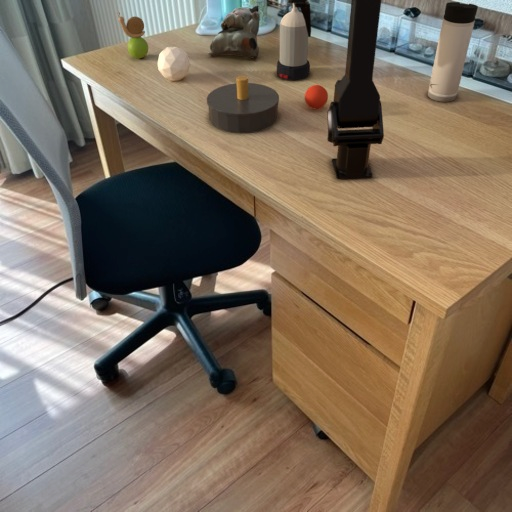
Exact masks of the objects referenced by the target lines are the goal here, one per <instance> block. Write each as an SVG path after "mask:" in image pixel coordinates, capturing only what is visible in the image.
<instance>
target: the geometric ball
mask: <svg viewBox="0 0 512 512" xmlns="http://www.w3.org/2000/svg"><path fill="white" fill-rule="evenodd" d="M156 65H157V69H158V72H159V73H160V75H162V77H164V78H165V79H167V80H169V81H173V82H176V81H181V80H183V79H184V78H185V77H186V76H187V75H188V74H189V71H190V67H191V61H190V58H189V56H188V54H187V53H186V52H185V51H184V50H183V49H182V48H180V47H177V46H167V47H165V48H164V49H163V50H162V51H161V52H159V55H158V58H157V64H156Z"/></svg>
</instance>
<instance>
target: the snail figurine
mask: <svg viewBox="0 0 512 512" xmlns="http://www.w3.org/2000/svg"><path fill="white" fill-rule="evenodd" d="M116 14H117V15H118V22H119V24H120V26H121V29H122V31H123V33H124V34H125V35H126V36H127V37H129V38H130V39H129V40H128V42H127V45H126V46H127V47H126V48H127V51H128V53H129V55H130V56H131V57H132V58H134V59H143V58H144V57H146V56H147V54H148V53H149V44H148V42H147V41H146V39H145V38H143V37H144V35H145V34H146V31H145V23H144V21H143V19H142V18H140V17H139V16H131V17H129V18H128V20H127V21H126V23H125V18H124V16H120V15H121V13H120V12H119V11H117V12H116Z"/></svg>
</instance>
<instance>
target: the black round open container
mask: <svg viewBox="0 0 512 512" xmlns="http://www.w3.org/2000/svg"><path fill="white" fill-rule="evenodd" d="M207 107H208V117H209V121H210V124H211V125H212V126H213V127H214V128H216V129H218V130H220V131H222V132H223V131H224V132H227V133H232V134H251V133H256V132H261V131H264V130H267V129H268V128H270V127H272V126H273V125H274V124H275V123H276V122H277V121H278V117H279V103H278V104H277V105H276V106H275V107H274V108H273V109H271V110H269V111H267V112H264V113H261V114H257V115H251V116H231V115H225V114H221V113H218V112H216V111H214V110H212V109H211V108H210V107H209V106H208V105H207Z"/></svg>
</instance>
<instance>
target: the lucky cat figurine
mask: <svg viewBox="0 0 512 512" xmlns="http://www.w3.org/2000/svg"><path fill="white" fill-rule="evenodd" d="M260 18H261V16H260V13H259V5H255V6H253V7H251V8H250V7H248V6H240V7H236V8H233V10H232V11H230V12H229V13H227V14H226V15H225V16H224V18H223V20H222V22H221V23H220V28H221V30H220V31H219V32H218V33H217V35H216V36H214V38H213V40H212V41H211V43H210V45H209V51H208V52H206V55H207V56H210V57H215V56H238V57H248V58H252V59H257V58H258V56H259V52H260V48H259V46H258V45H259V44H258V38H257V36H258V34H259V31H260V21H261V19H260Z"/></svg>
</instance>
